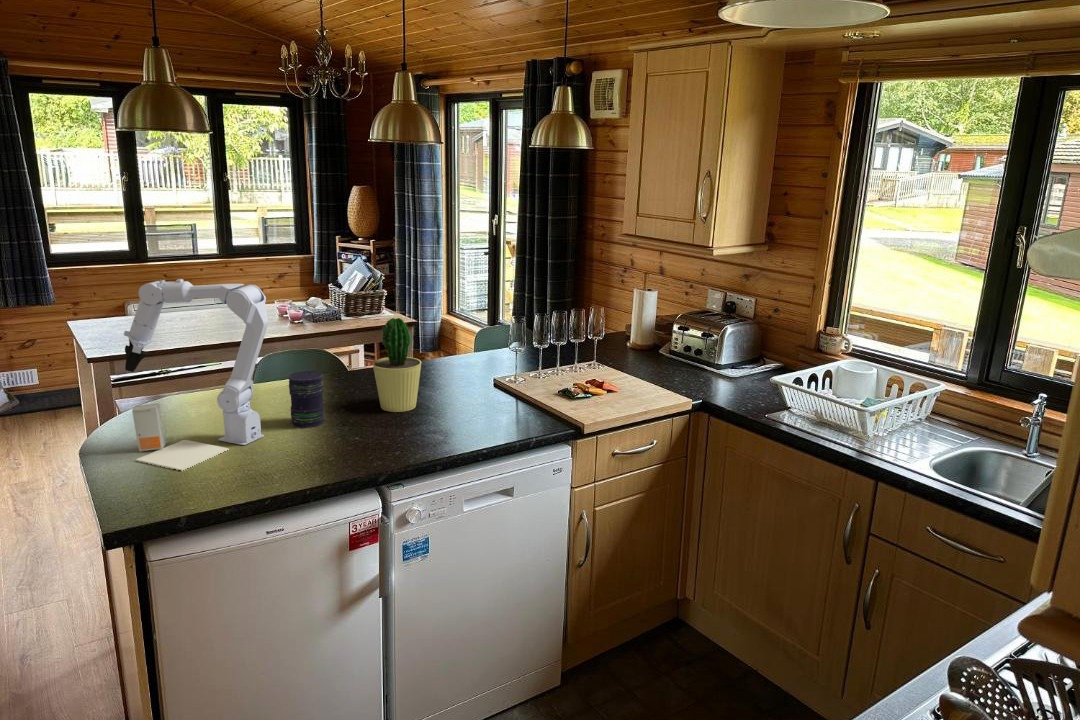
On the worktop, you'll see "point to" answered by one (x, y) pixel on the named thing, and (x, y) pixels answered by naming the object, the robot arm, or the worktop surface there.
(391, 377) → the potted cactus
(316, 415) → the storage jar
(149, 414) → the skincare box
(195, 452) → the mat
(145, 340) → the robot arm
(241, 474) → the worktop surface
